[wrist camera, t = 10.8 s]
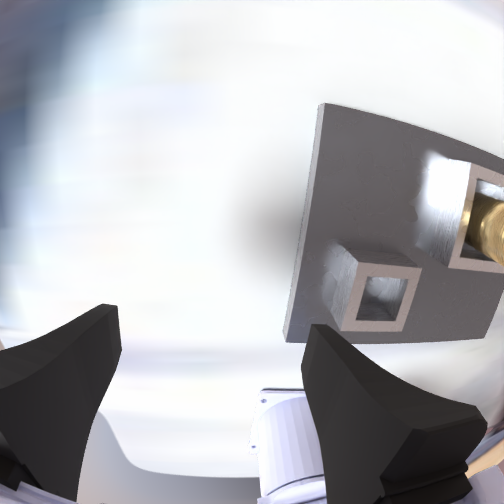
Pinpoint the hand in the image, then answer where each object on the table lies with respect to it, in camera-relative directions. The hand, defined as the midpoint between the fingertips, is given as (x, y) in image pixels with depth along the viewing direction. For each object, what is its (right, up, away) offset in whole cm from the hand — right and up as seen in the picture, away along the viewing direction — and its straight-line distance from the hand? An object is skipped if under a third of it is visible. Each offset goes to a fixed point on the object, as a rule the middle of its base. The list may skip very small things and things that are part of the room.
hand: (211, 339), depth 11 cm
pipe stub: (+18, +6, +8) cm, 21 cm away
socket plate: (+15, +4, +10) cm, 18 cm away
